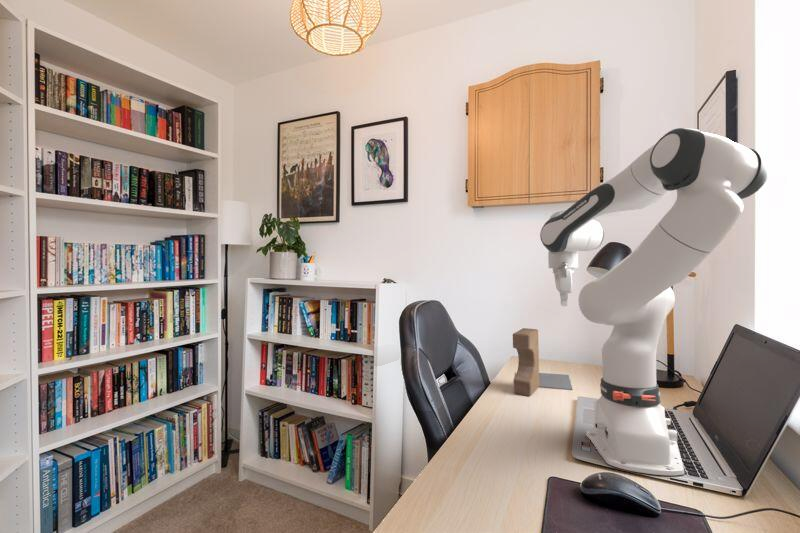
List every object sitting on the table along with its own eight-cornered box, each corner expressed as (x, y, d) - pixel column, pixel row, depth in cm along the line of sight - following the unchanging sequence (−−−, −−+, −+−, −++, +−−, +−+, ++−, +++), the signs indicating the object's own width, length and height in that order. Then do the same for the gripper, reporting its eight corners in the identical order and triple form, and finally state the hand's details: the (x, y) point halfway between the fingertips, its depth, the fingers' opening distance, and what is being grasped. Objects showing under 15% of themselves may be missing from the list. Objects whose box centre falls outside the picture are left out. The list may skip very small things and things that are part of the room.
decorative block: (530, 396, 125) (529, 335, 124) (513, 393, 128) (511, 333, 128) (540, 386, 134) (539, 329, 134) (523, 384, 137) (522, 327, 137)
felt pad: (572, 390, 131) (572, 388, 131) (513, 385, 137) (513, 384, 137) (568, 375, 148) (568, 374, 148) (516, 372, 154) (516, 371, 154)
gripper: (577, 262, 114) (578, 309, 114) (571, 262, 133) (572, 303, 133) (553, 262, 116) (554, 309, 116) (551, 263, 135) (552, 303, 135)
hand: (564, 305), depth 125 cm, fingers closed
